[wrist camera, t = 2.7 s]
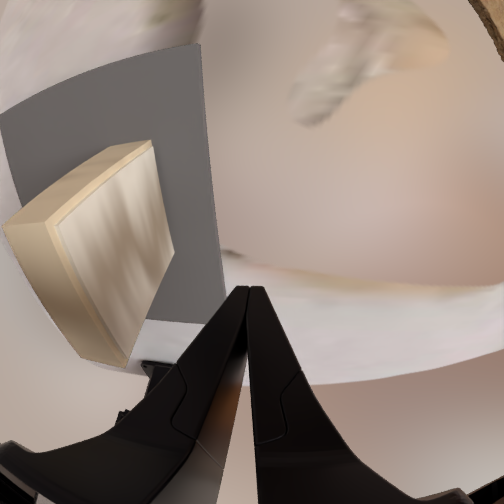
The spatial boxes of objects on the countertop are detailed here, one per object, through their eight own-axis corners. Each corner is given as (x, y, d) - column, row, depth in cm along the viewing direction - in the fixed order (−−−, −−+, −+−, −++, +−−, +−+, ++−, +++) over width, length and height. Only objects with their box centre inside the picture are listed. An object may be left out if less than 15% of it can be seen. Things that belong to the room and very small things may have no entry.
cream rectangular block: (176, 253, 16) (128, 369, 10) (135, 253, 17) (77, 356, 10) (154, 139, 12) (48, 221, 6) (107, 146, 12) (-2, 226, 6)
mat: (229, 319, 20) (228, 325, 20) (74, 303, 22) (71, 308, 21) (200, 44, 10) (197, 43, 9) (4, 113, 11) (-2, 115, 11)
